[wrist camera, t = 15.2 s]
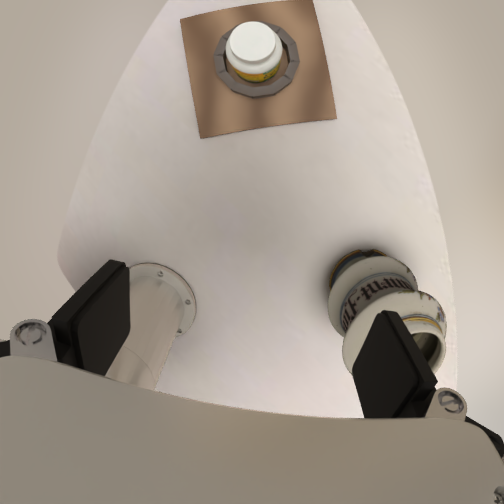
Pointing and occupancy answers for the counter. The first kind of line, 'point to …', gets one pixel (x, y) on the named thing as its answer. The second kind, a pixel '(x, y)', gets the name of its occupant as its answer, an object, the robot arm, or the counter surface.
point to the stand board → (266, 93)
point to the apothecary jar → (383, 304)
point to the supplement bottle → (254, 52)
